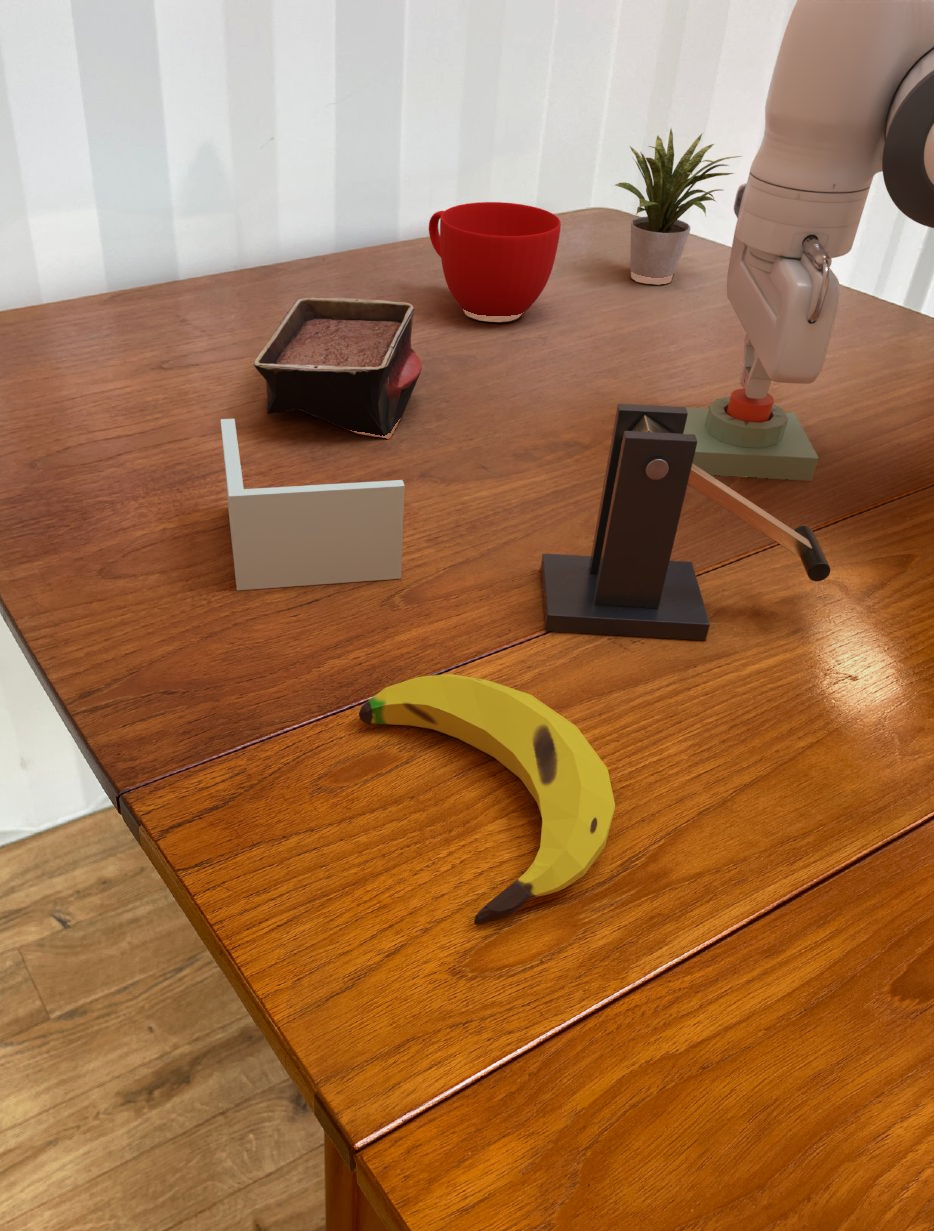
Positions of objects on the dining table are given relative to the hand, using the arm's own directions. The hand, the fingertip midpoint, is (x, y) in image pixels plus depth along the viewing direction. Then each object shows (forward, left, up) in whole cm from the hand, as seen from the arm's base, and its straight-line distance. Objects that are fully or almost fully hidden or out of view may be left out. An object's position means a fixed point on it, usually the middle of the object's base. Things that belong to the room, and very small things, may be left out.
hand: (752, 391), depth 90 cm
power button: (0, 0, -2) cm, 2 cm away
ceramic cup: (+23, -34, -6) cm, 41 cm away
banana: (+24, +46, -6) cm, 52 cm away
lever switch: (+8, +25, +2) cm, 26 cm away
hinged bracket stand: (+13, +25, -6) cm, 29 cm away
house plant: (+2, -46, -6) cm, 46 cm away
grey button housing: (0, 0, -6) cm, 6 cm away
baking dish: (+36, -6, -6) cm, 37 cm away
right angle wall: (+36, +19, -6) cm, 41 cm away
